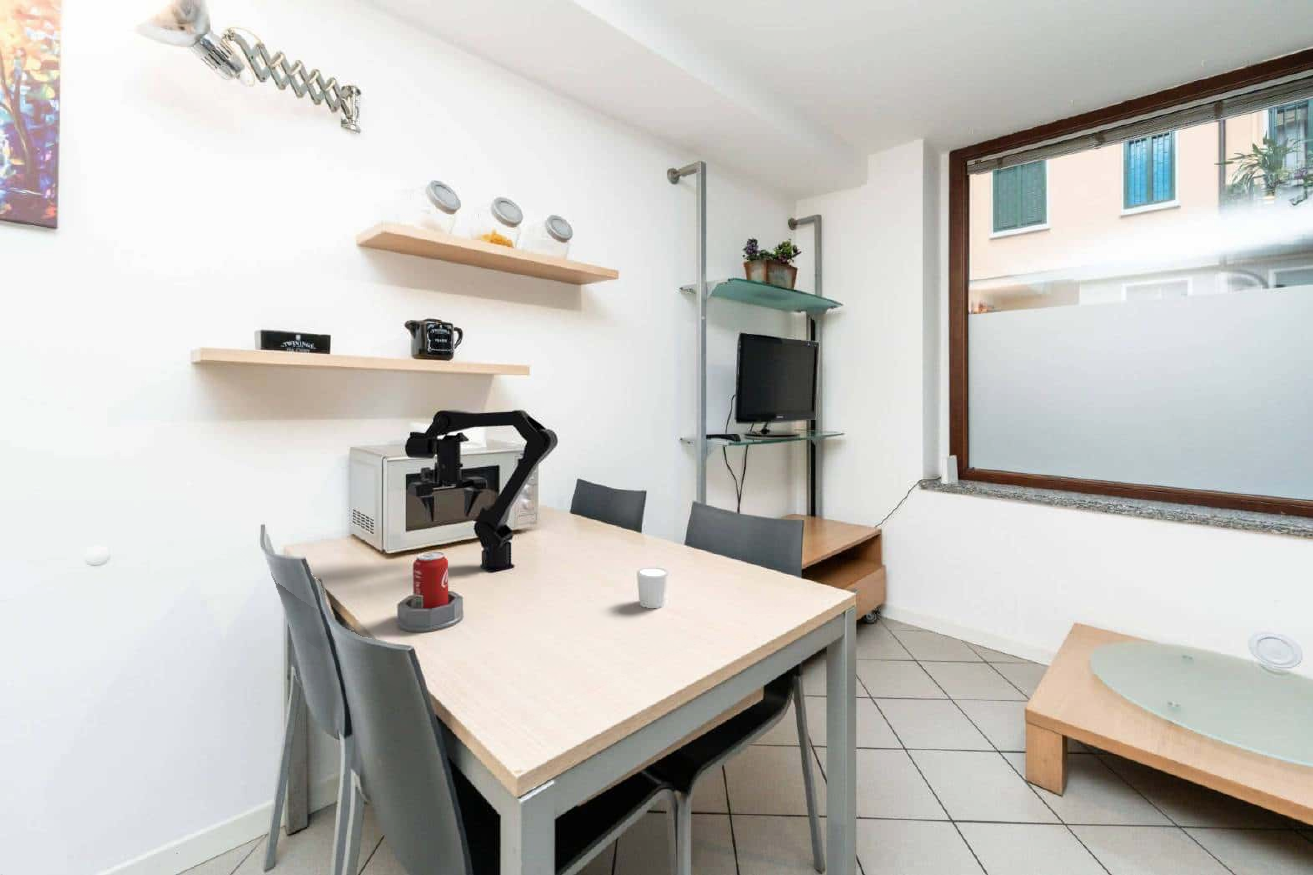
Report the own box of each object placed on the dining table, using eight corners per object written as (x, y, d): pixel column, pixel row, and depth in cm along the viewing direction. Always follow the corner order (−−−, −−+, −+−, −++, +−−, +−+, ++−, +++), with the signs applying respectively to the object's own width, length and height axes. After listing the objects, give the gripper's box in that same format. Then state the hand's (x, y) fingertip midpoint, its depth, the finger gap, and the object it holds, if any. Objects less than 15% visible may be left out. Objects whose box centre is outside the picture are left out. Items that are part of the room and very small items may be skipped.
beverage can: (454, 615, 109) (453, 555, 108) (421, 624, 104) (420, 561, 103) (440, 606, 113) (439, 548, 112) (408, 614, 109) (407, 554, 108)
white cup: (635, 598, 122) (636, 567, 121) (666, 597, 122) (667, 566, 122) (637, 610, 115) (637, 577, 114) (670, 609, 115) (670, 576, 115)
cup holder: (447, 603, 117) (447, 585, 117) (474, 620, 108) (473, 601, 108) (387, 618, 109) (387, 599, 108) (411, 638, 100) (411, 617, 100)
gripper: (468, 454, 154) (468, 509, 155) (399, 458, 141) (400, 519, 142) (488, 457, 146) (488, 516, 147) (416, 462, 133) (417, 526, 134)
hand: (449, 519), depth 143 cm, fingers open, 9 cm apart
